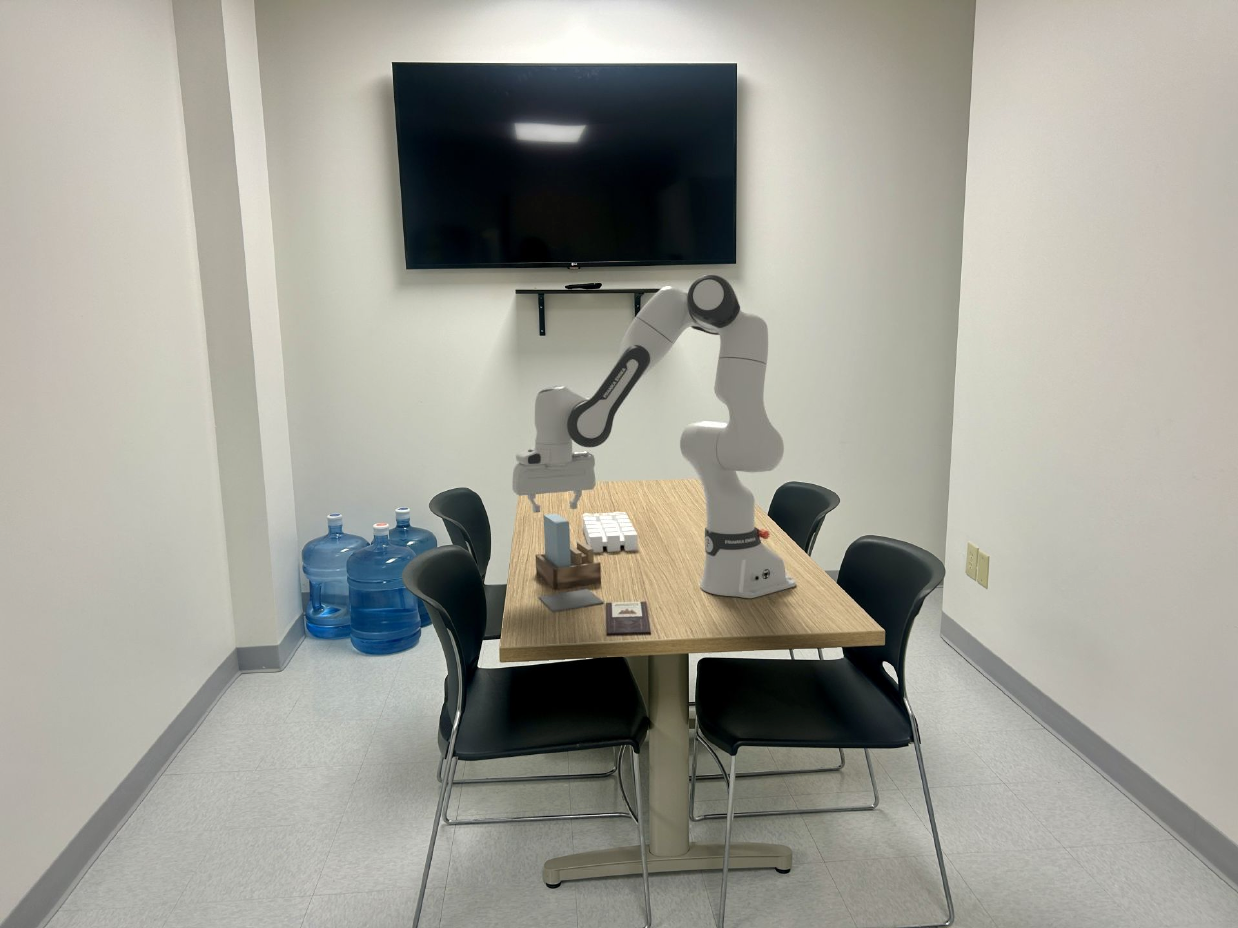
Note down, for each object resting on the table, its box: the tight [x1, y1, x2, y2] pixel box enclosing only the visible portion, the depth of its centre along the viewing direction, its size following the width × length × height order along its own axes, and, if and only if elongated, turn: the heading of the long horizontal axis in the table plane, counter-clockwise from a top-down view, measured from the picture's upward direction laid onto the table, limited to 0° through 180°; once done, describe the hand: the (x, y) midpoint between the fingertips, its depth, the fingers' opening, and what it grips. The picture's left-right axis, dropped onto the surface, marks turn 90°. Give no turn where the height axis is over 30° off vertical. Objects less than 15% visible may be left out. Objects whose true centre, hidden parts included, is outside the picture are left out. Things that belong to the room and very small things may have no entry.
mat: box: [538, 588, 605, 613], centre depth 186 cm, size 12×10×1 cm
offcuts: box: [570, 540, 595, 566], centre depth 203 cm, size 4×10×6 cm, turn 23°
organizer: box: [582, 511, 639, 553], centre depth 242 cm, size 13×5×35 cm
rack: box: [535, 552, 602, 591], centre depth 202 cm, size 12×14×5 cm
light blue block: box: [543, 513, 571, 568], centre depth 200 cm, size 3×10×14 cm, turn 23°
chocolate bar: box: [605, 601, 652, 637], centre depth 174 cm, size 9×1×18 cm
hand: (555, 510), depth 199 cm, fingers open, 8 cm apart
